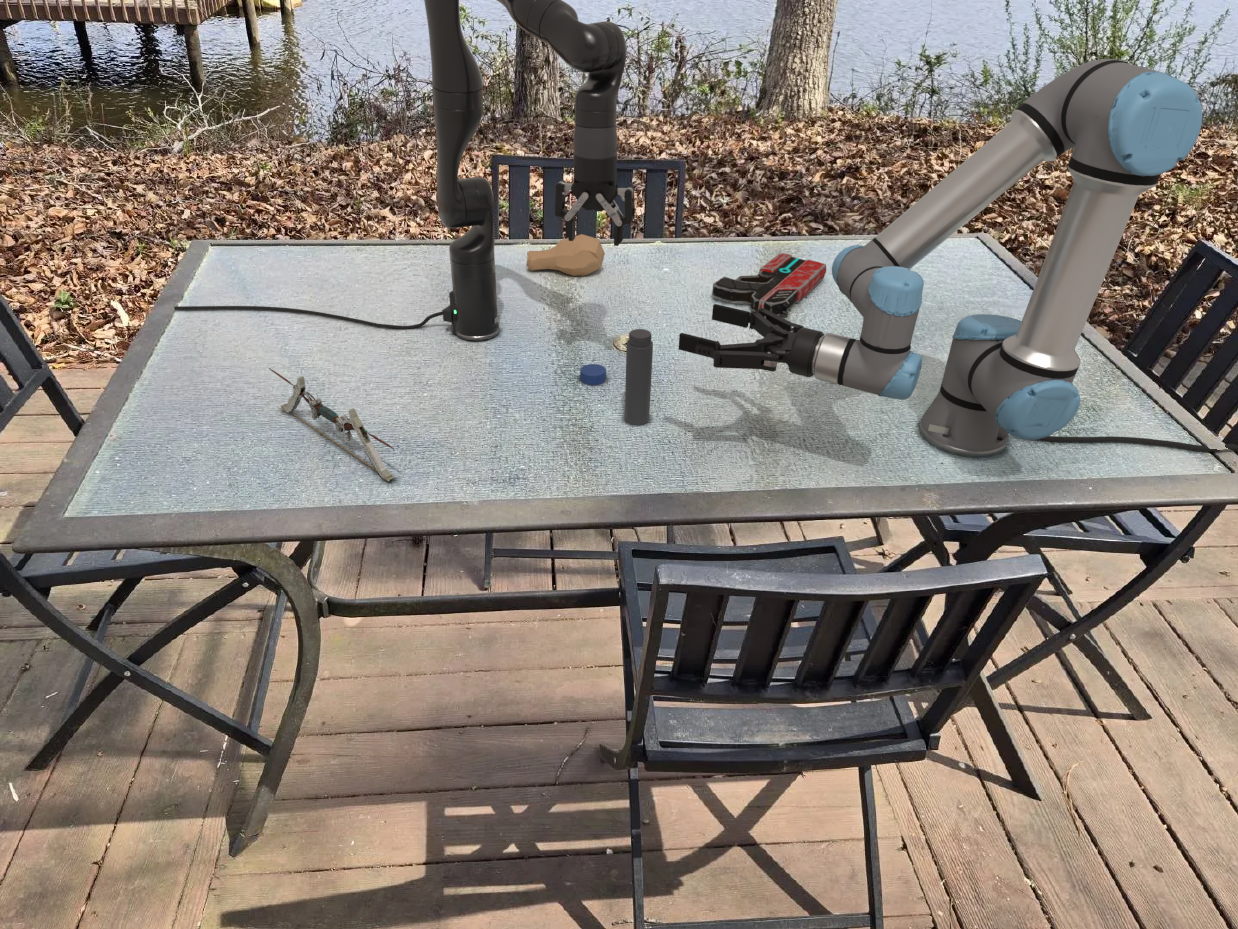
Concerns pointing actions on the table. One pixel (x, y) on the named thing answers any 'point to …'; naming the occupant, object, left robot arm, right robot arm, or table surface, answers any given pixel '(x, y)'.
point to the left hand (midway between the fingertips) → (594, 242)
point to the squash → (569, 256)
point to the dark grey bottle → (638, 377)
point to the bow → (337, 424)
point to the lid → (593, 374)
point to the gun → (773, 284)
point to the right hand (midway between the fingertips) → (696, 325)
